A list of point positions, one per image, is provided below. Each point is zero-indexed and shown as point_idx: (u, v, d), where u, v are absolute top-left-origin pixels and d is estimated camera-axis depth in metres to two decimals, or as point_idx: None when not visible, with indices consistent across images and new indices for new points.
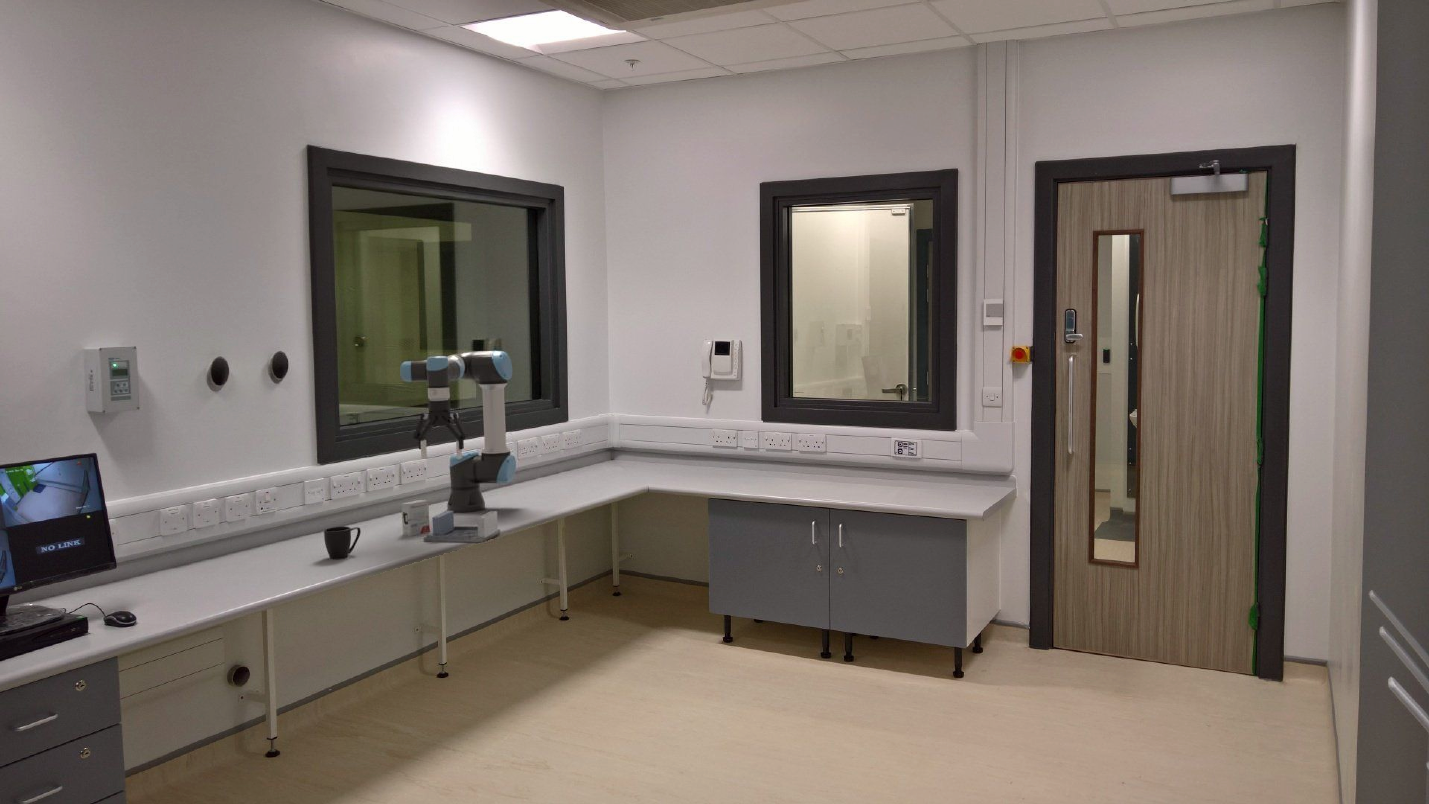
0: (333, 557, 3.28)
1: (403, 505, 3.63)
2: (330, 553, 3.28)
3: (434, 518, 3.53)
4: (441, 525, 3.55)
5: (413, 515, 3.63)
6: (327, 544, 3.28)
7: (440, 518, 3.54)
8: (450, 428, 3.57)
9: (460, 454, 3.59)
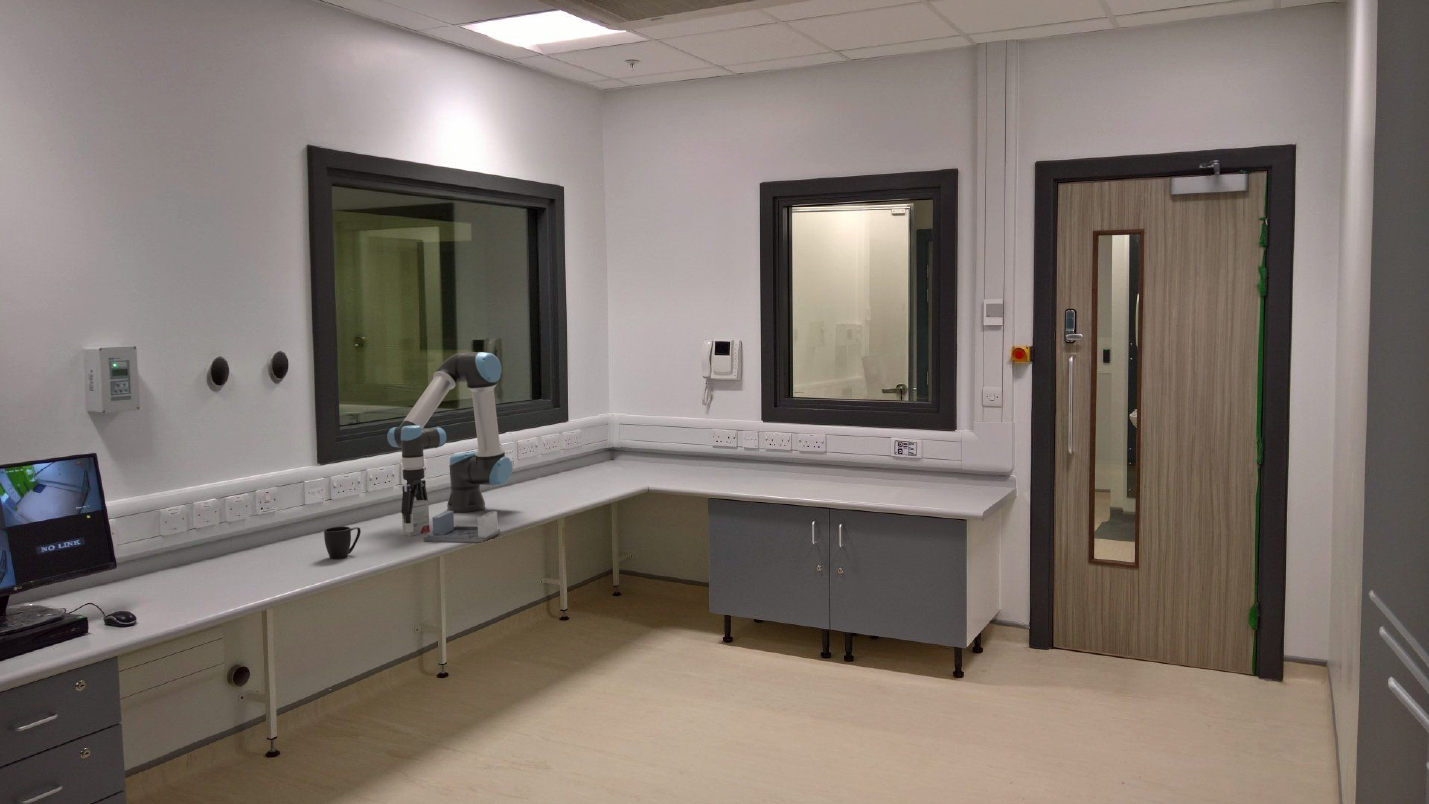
0: (333, 557, 3.28)
1: None
2: (330, 553, 3.28)
3: (434, 518, 3.53)
4: (441, 525, 3.55)
5: (413, 515, 3.63)
6: (327, 544, 3.28)
7: (440, 518, 3.54)
8: None
9: (409, 528, 3.61)
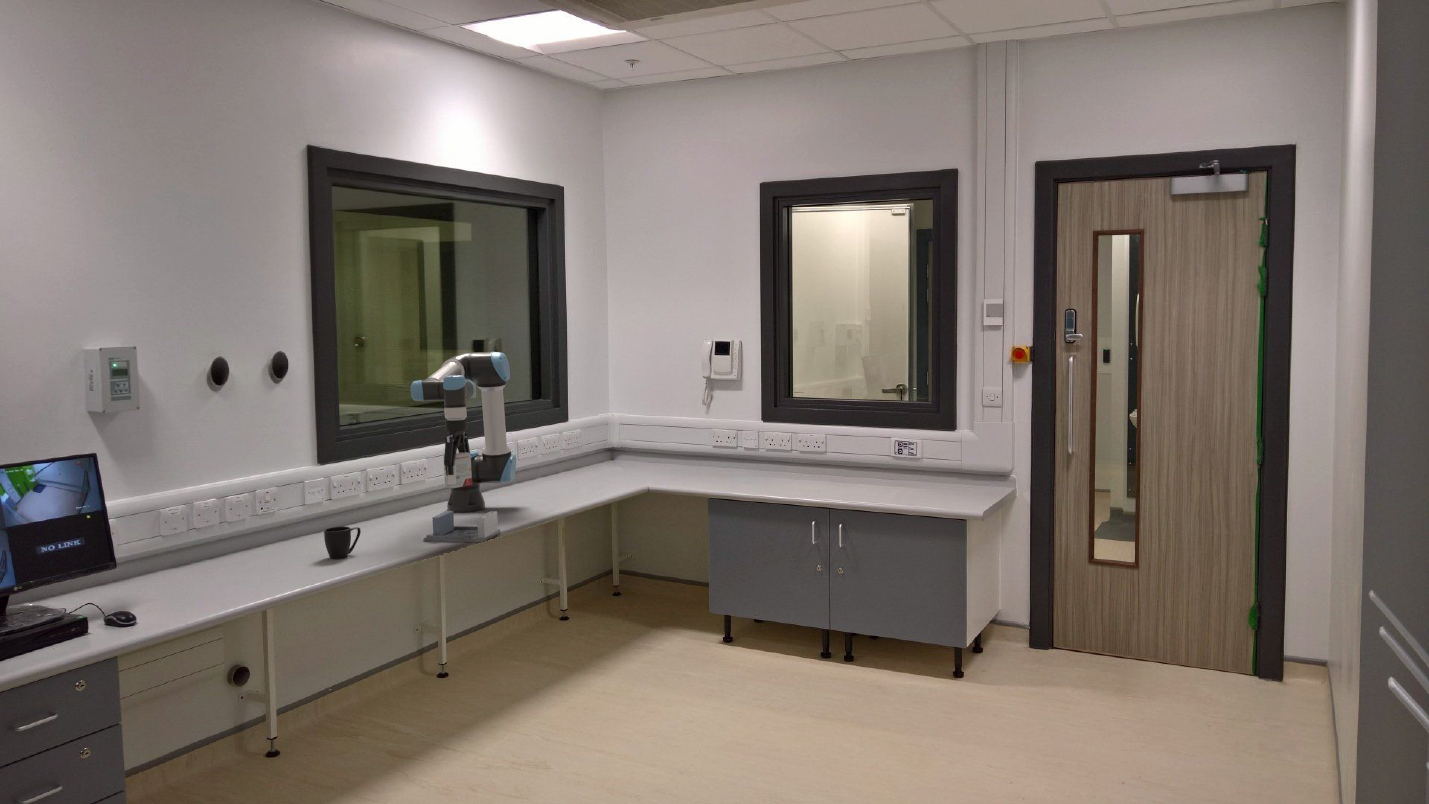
0: (333, 557, 3.28)
1: None
2: (330, 553, 3.28)
3: (434, 518, 3.53)
4: (441, 525, 3.55)
5: (456, 467, 3.53)
6: (327, 544, 3.28)
7: (440, 518, 3.54)
8: None
9: (452, 480, 3.51)
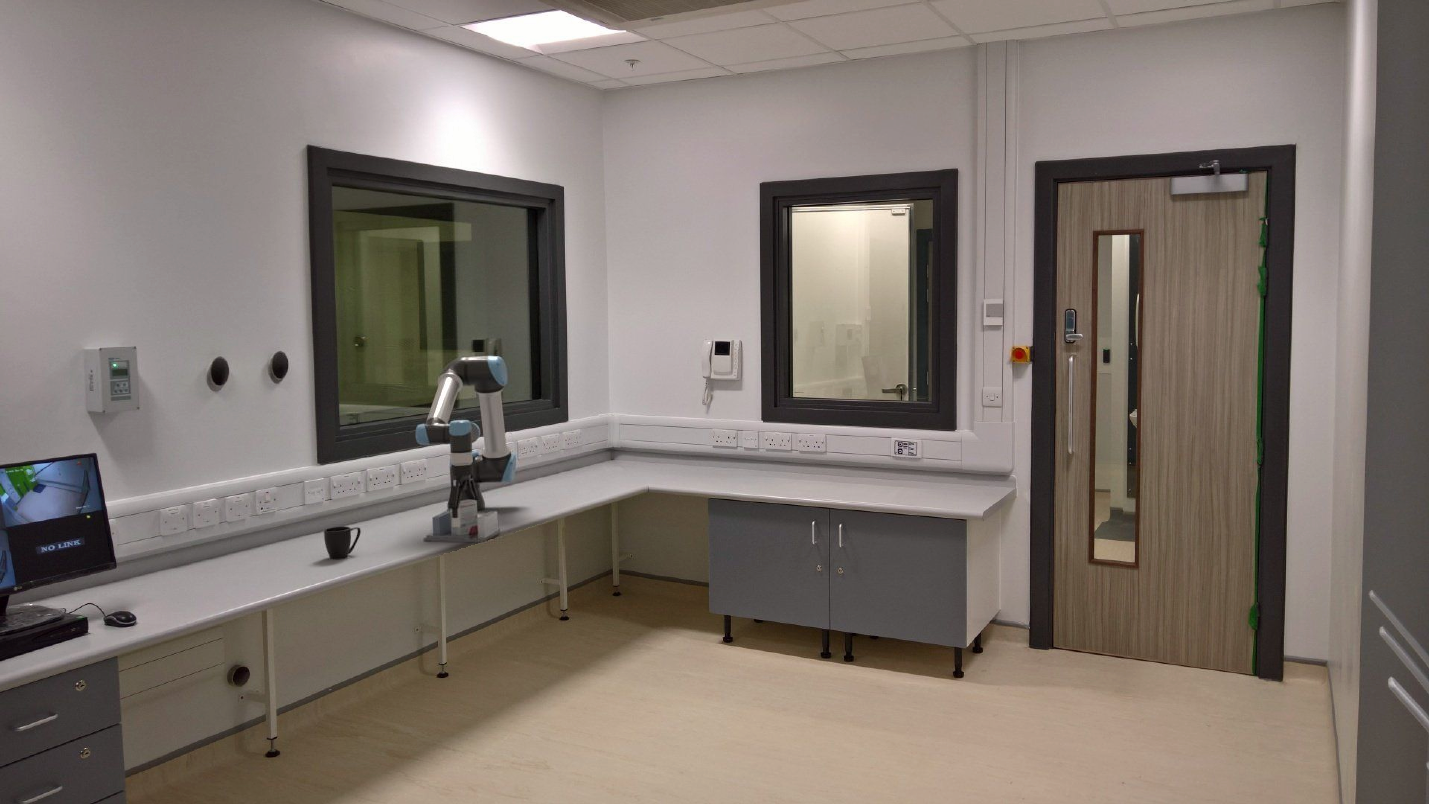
0: (333, 557, 3.28)
1: None
2: (330, 553, 3.28)
3: (434, 518, 3.53)
4: (441, 525, 3.55)
5: (462, 515, 3.54)
6: (327, 544, 3.28)
7: (440, 518, 3.54)
8: None
9: (456, 522, 3.51)
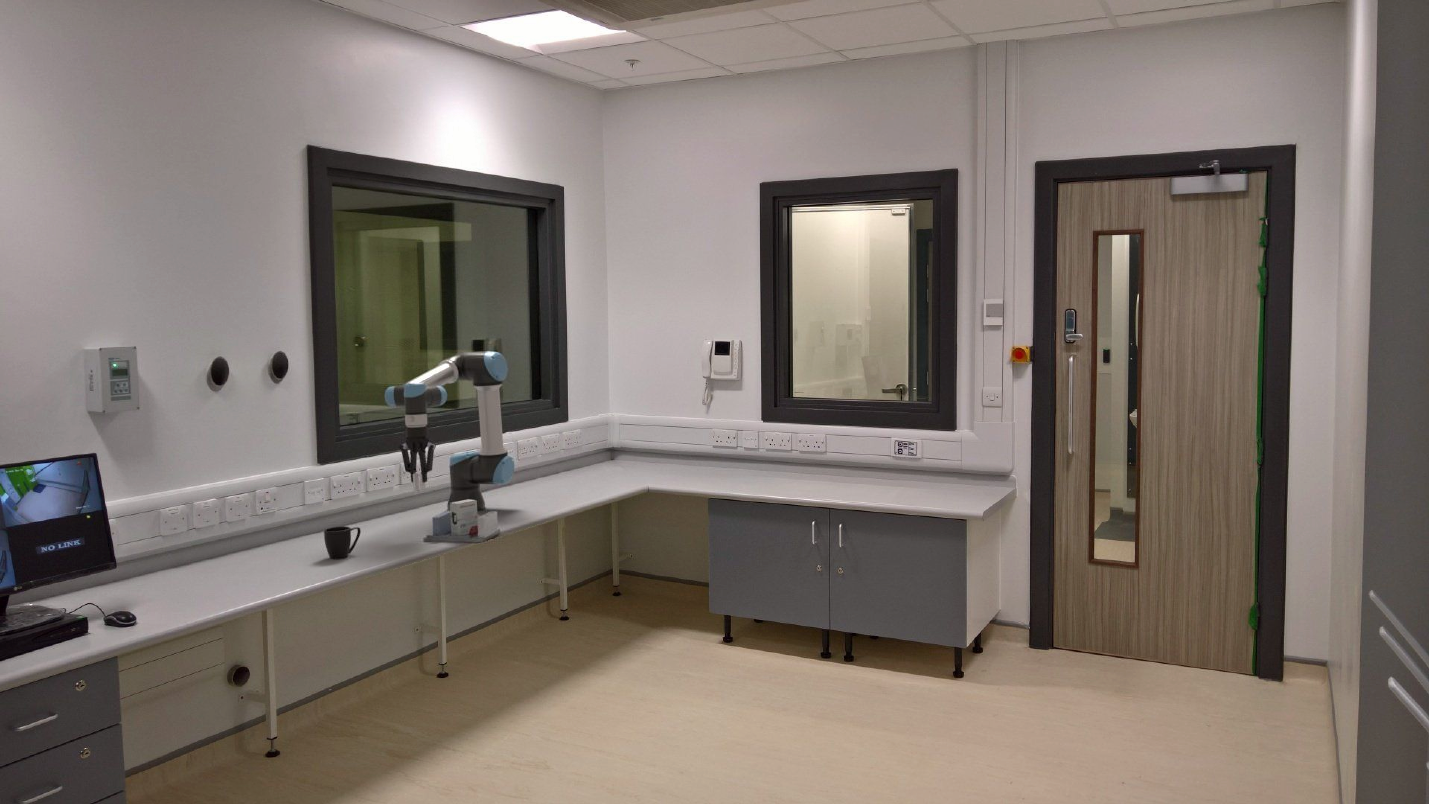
0: (333, 557, 3.28)
1: (452, 505, 3.54)
2: (330, 553, 3.28)
3: (434, 518, 3.53)
4: (441, 525, 3.55)
5: (462, 515, 3.54)
6: (327, 544, 3.28)
7: (440, 518, 3.54)
8: (420, 458, 3.57)
9: (423, 487, 3.59)
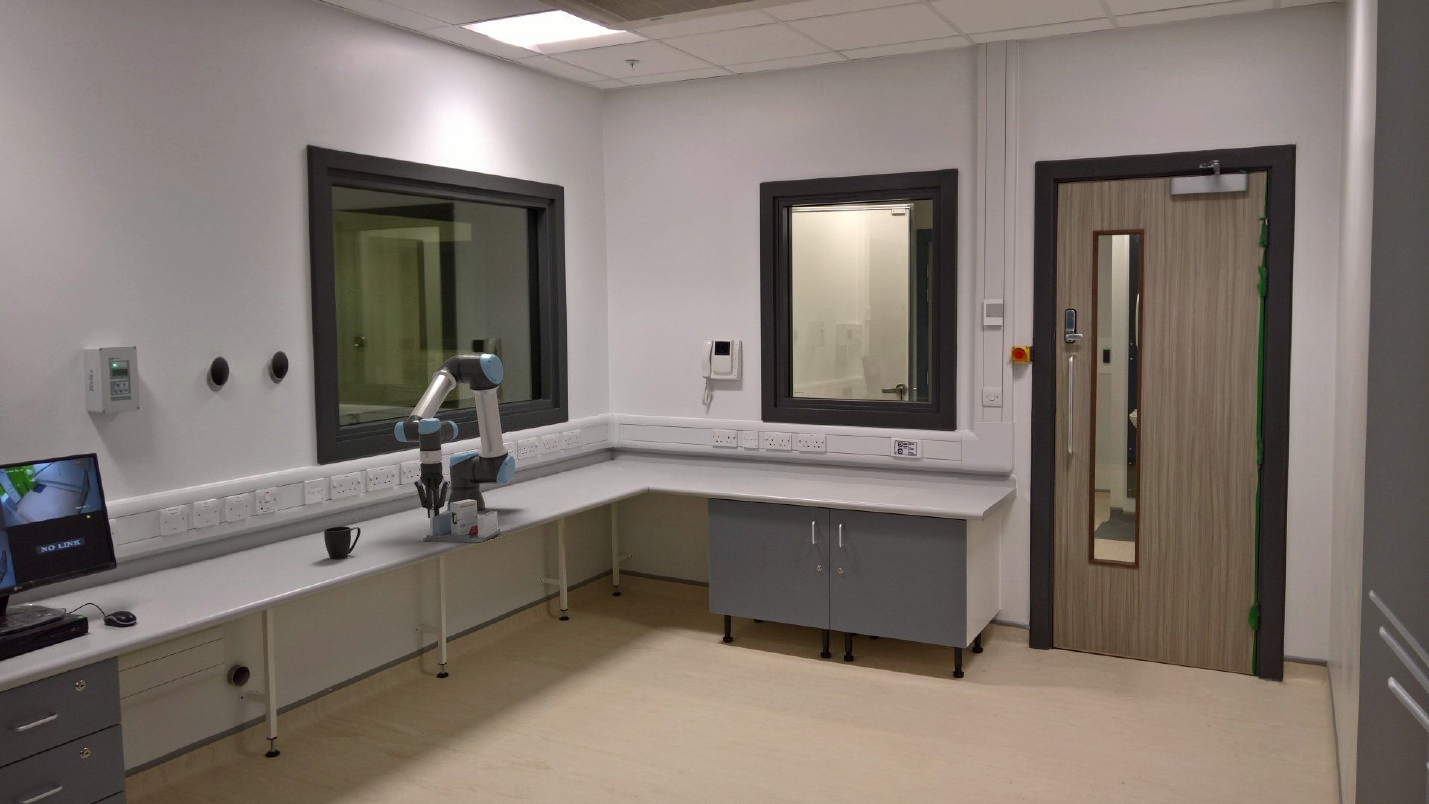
0: (333, 557, 3.28)
1: (452, 505, 3.54)
2: (330, 553, 3.28)
3: (434, 518, 3.53)
4: (441, 525, 3.55)
5: (462, 515, 3.54)
6: (327, 544, 3.28)
7: (440, 518, 3.54)
8: (434, 494, 3.57)
9: None
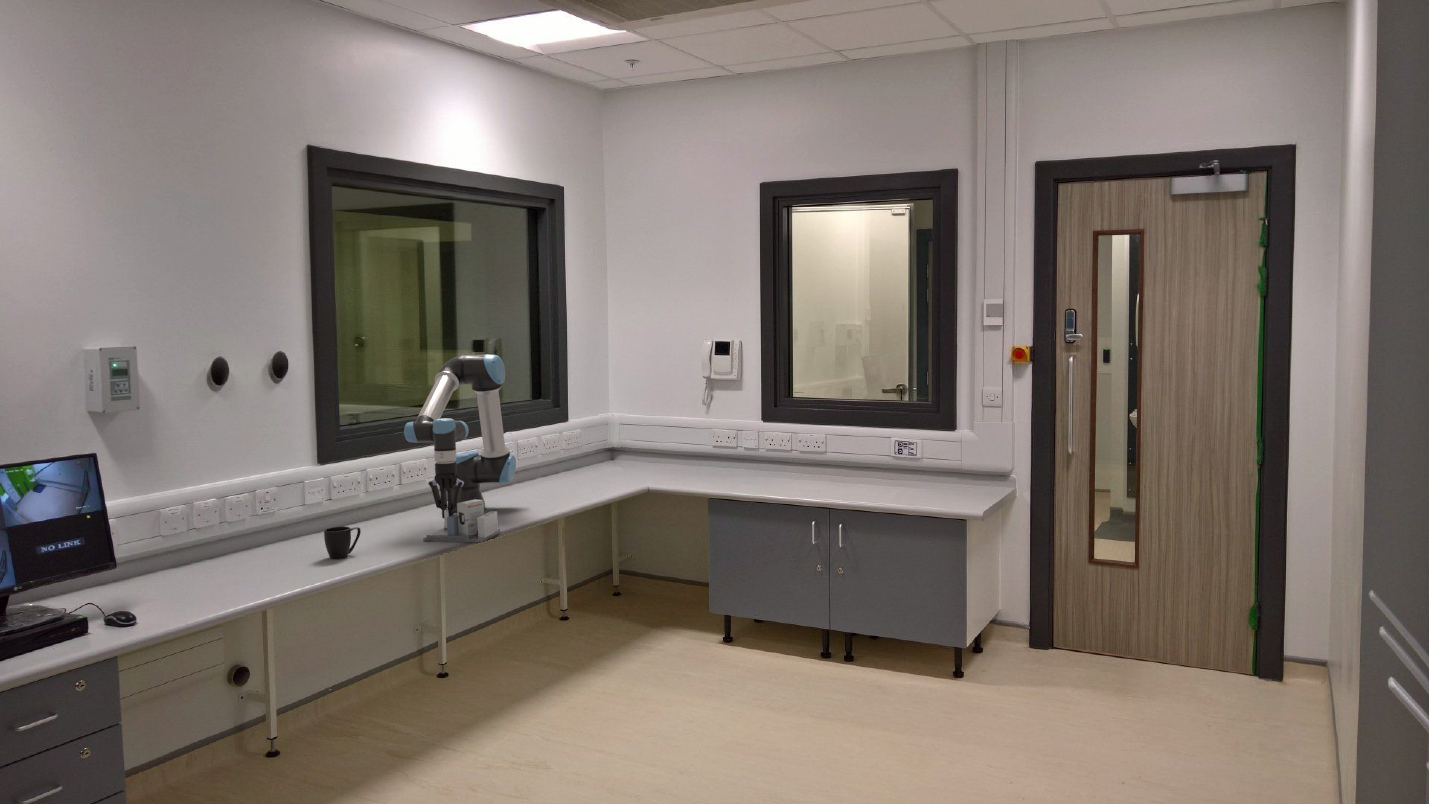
0: (333, 557, 3.28)
1: (459, 505, 3.54)
2: (330, 553, 3.28)
3: (449, 518, 3.52)
4: (456, 526, 3.54)
5: (470, 515, 3.54)
6: (327, 544, 3.28)
7: (455, 518, 3.53)
8: (448, 494, 3.56)
9: None
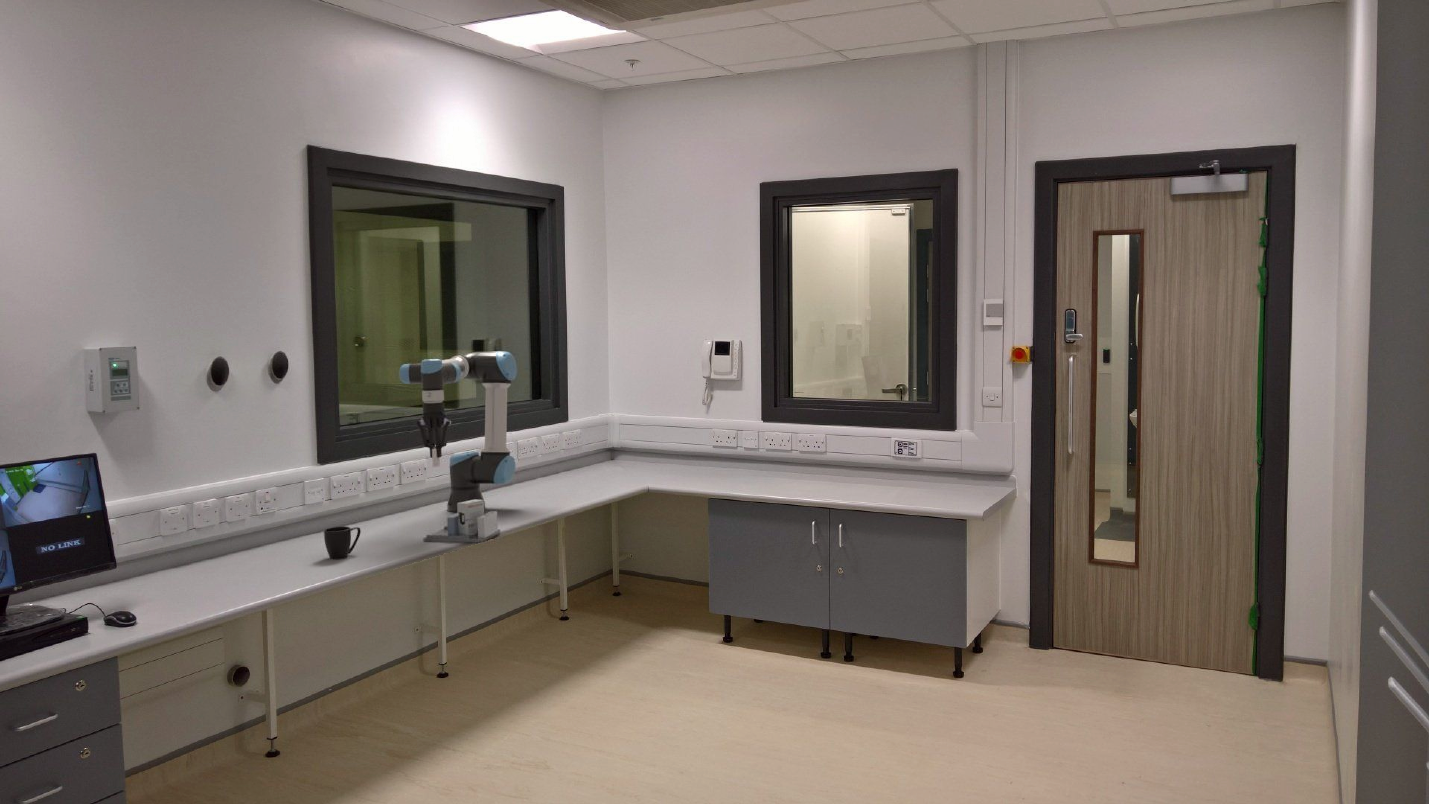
0: (333, 557, 3.28)
1: (459, 505, 3.54)
2: (330, 553, 3.28)
3: (449, 518, 3.52)
4: (456, 526, 3.54)
5: (470, 515, 3.54)
6: (327, 544, 3.28)
7: (455, 518, 3.53)
8: (436, 433, 3.63)
9: (438, 462, 3.65)
